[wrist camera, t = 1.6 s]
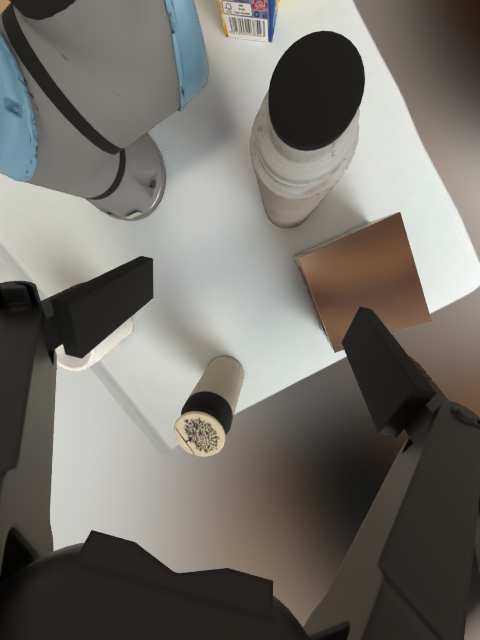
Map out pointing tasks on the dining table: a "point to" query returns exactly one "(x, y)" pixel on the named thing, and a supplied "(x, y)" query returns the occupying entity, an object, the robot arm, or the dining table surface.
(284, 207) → the thermos bottle
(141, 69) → the robot arm
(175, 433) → the travel mug
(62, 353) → the foam cup
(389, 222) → the box
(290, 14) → the dining table surface
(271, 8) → the beverage box
